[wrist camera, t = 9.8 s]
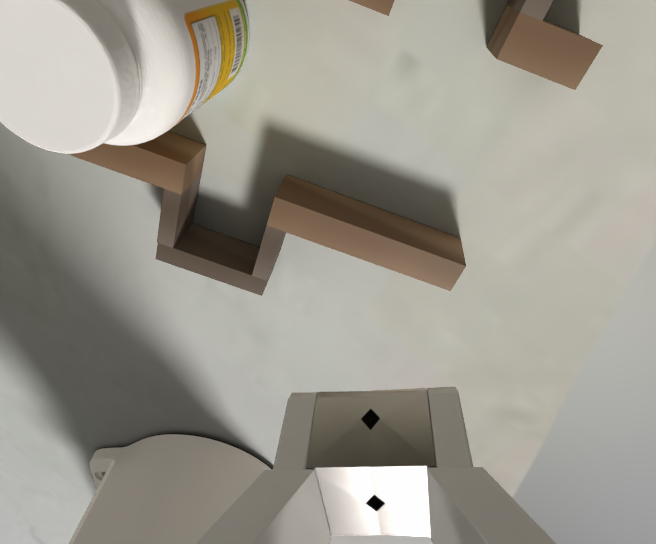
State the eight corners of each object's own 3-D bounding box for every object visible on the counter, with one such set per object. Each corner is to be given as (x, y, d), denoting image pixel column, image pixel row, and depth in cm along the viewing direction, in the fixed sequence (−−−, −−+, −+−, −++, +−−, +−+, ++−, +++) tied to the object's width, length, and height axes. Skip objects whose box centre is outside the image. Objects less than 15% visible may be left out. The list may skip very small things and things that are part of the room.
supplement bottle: (98, 0, 19) (-118, 33, 11) (194, -88, 17) (12, -125, 9) (184, 116, 22) (54, 211, 14) (278, 50, 19) (190, 117, 11)
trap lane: (413, 317, 26) (414, 348, 24) (71, 197, 25) (41, 219, 23) (654, -94, 15) (693, -101, 13) (72, -346, 14) (14, -397, 12)
